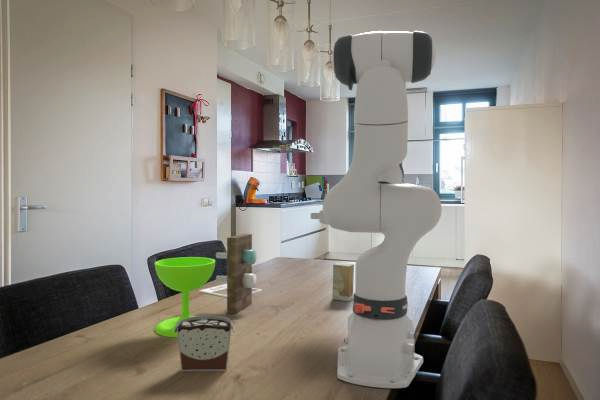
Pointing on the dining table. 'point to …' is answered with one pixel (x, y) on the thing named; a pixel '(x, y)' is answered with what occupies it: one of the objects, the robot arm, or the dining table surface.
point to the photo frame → (220, 288)
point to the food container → (204, 342)
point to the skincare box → (343, 281)
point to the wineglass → (182, 284)
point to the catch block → (238, 273)
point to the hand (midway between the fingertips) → (311, 215)
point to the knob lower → (247, 280)
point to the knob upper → (247, 256)
